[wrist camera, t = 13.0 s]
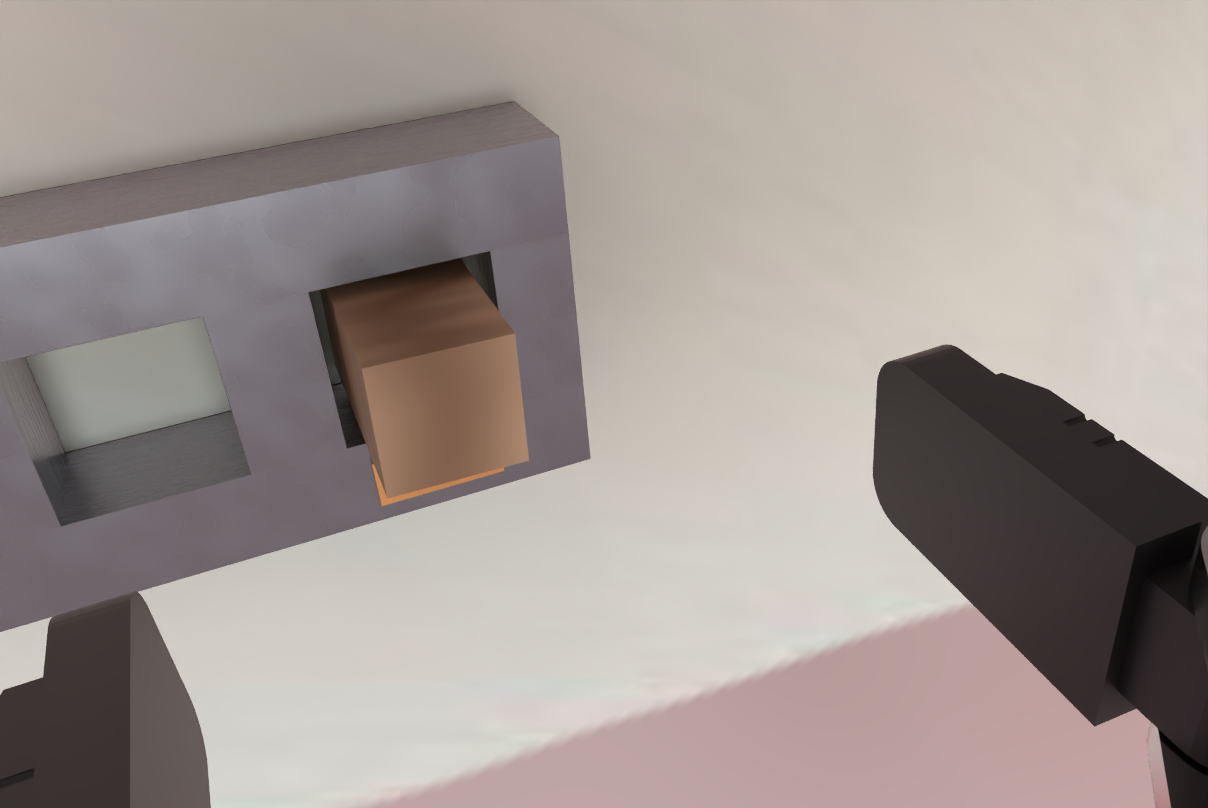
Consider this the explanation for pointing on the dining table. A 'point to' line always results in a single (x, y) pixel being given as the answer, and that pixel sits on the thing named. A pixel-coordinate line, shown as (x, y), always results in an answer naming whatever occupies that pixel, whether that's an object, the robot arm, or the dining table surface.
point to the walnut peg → (428, 375)
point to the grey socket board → (262, 342)
